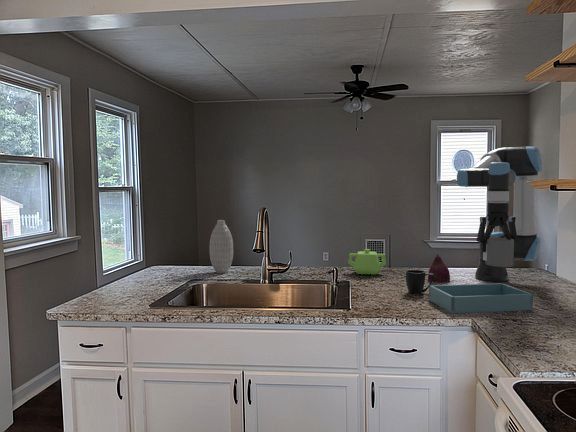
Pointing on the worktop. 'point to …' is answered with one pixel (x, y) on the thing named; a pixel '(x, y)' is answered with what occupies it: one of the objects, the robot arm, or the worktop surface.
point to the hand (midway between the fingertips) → (496, 260)
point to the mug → (416, 281)
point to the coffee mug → (500, 252)
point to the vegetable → (439, 271)
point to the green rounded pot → (367, 262)
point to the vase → (221, 247)
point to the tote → (480, 298)
